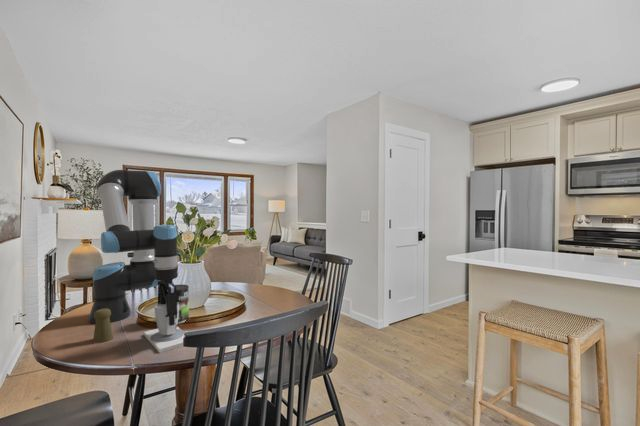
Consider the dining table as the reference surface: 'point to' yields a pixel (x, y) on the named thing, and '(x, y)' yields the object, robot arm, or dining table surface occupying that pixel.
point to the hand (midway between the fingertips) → (167, 330)
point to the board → (165, 339)
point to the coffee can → (182, 302)
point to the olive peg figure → (102, 326)
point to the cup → (163, 317)
